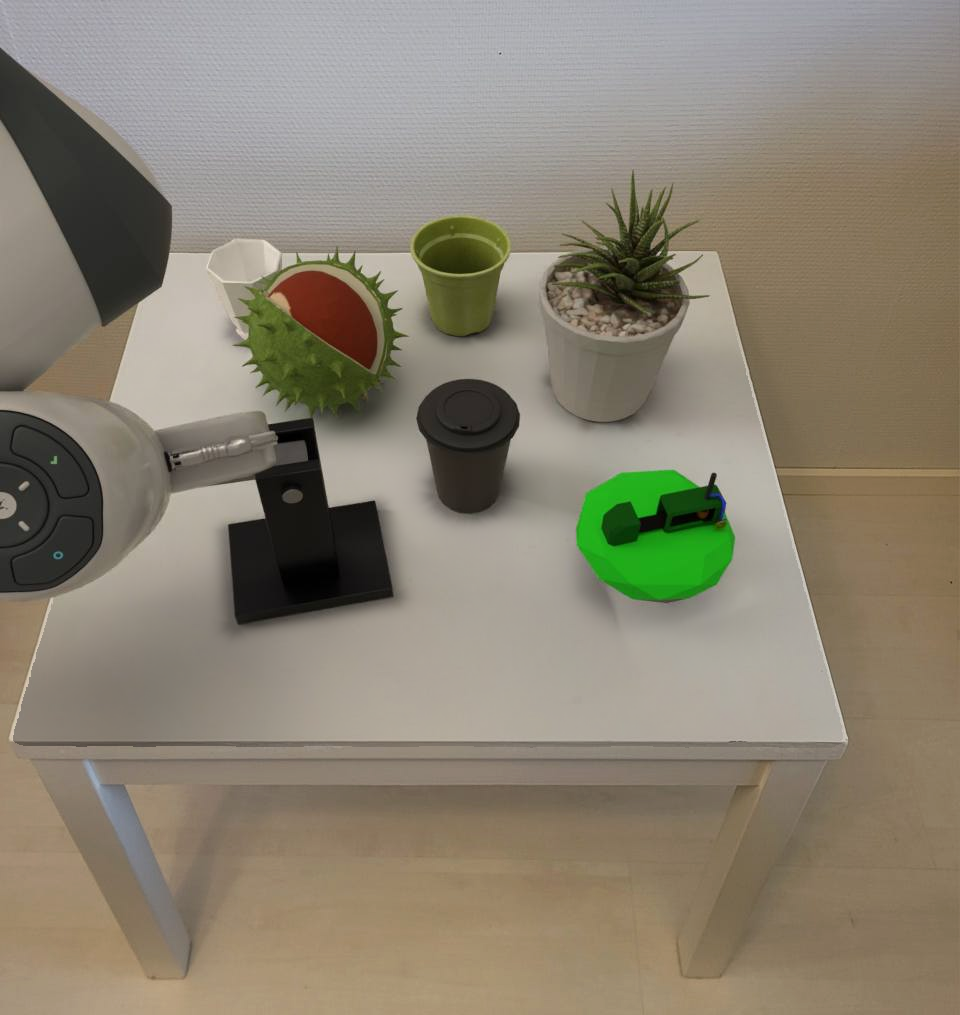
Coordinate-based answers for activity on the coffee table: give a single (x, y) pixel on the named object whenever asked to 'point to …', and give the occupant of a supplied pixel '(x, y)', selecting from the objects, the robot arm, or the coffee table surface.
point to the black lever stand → (304, 542)
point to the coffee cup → (468, 441)
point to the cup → (242, 274)
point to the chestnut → (321, 333)
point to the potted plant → (613, 315)
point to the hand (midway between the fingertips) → (120, 469)
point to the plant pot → (461, 270)
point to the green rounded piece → (656, 535)
